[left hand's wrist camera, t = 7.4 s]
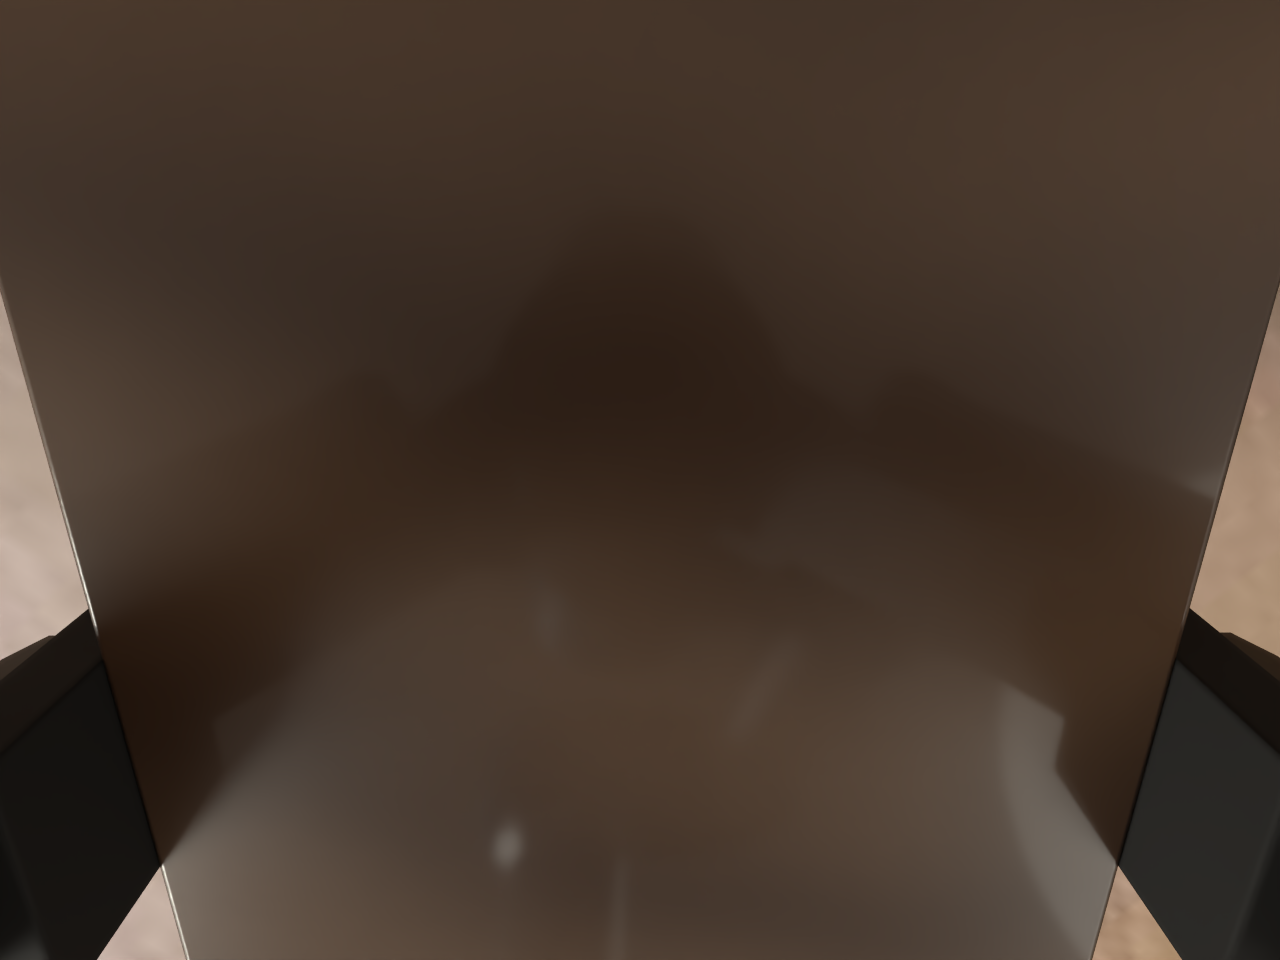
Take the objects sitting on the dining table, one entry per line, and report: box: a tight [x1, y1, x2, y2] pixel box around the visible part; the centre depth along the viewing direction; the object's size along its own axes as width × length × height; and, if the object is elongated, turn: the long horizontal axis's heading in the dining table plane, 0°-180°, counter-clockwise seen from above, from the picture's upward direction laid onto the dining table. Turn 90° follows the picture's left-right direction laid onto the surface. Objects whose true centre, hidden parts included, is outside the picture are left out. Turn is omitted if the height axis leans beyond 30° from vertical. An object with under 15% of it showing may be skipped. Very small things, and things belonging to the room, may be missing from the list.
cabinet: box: [0, 0, 1280, 960], centre depth 12 cm, size 17×11×11 cm, turn 0°
